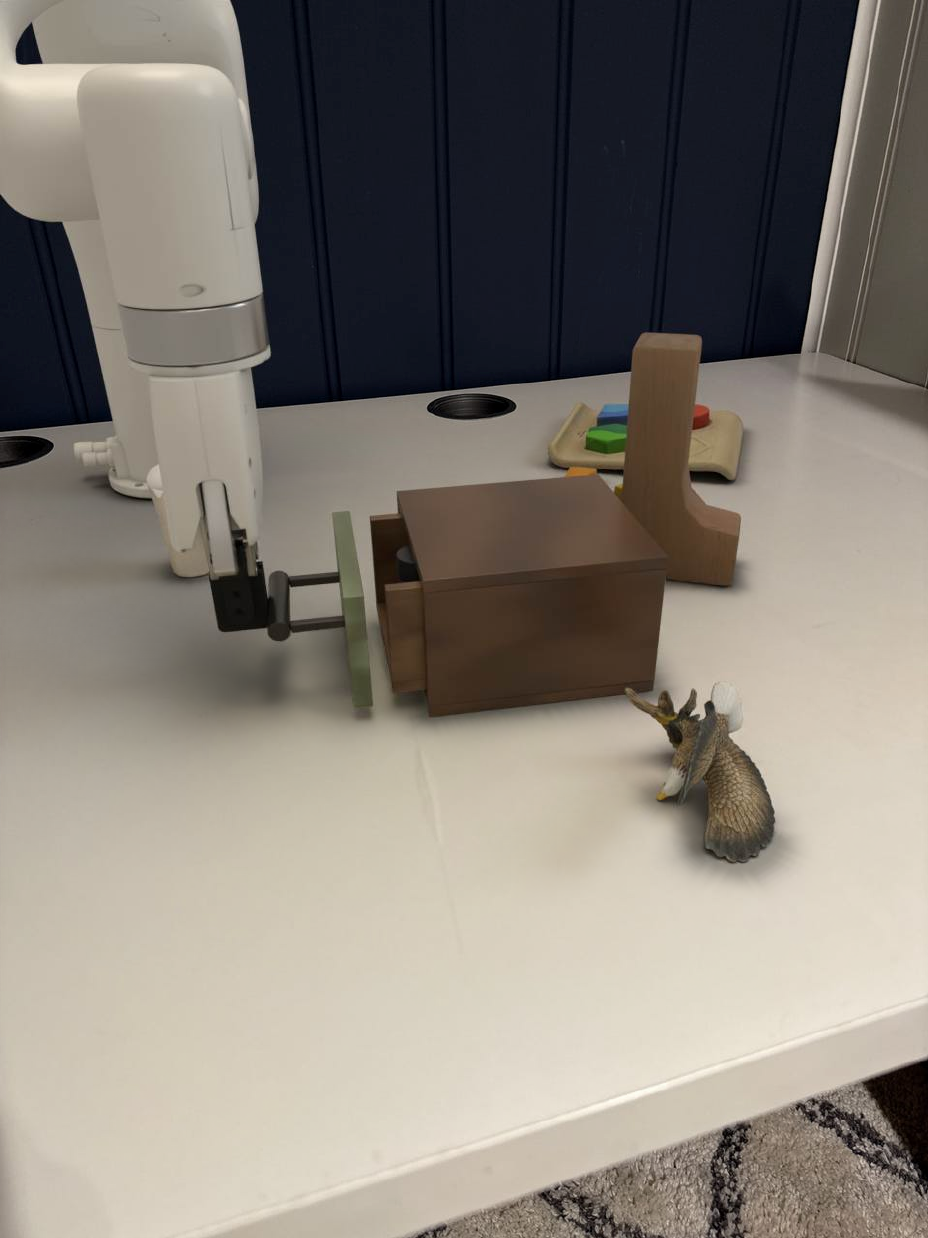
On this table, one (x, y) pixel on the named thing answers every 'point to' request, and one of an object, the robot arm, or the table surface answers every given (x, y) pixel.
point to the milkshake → (182, 563)
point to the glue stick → (406, 566)
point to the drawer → (363, 607)
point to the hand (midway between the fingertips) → (245, 623)
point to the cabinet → (533, 592)
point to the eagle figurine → (715, 770)
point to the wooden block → (673, 463)
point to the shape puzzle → (603, 440)
